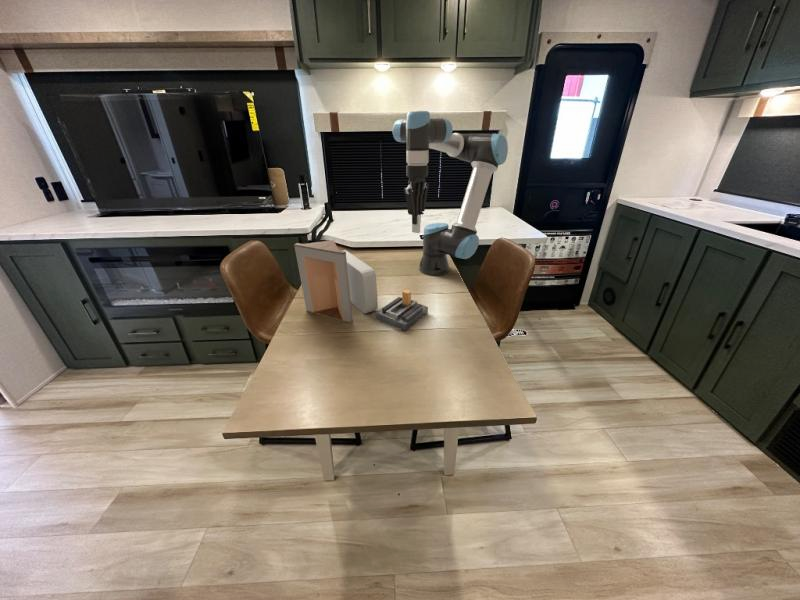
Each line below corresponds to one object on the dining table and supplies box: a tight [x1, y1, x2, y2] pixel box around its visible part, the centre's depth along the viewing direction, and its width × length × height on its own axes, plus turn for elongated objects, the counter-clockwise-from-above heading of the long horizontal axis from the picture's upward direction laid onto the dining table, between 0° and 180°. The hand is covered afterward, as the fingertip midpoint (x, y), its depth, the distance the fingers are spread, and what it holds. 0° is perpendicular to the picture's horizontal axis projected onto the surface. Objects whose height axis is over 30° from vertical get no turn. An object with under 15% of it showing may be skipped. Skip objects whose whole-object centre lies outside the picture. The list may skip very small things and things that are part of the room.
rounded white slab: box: [342, 249, 378, 314], centre depth 129 cm, size 29×8×18 cm, turn 34°
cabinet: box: [294, 239, 354, 324], centre depth 118 cm, size 21×10×28 cm, turn 65°
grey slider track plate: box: [381, 296, 423, 321], centre depth 119 cm, size 11×12×1 cm
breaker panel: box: [374, 296, 429, 332], centre depth 120 cm, size 15×14×4 cm
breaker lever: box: [401, 289, 412, 308], centre depth 120 cm, size 3×3×6 cm
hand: (416, 232), depth 117 cm, fingers closed
